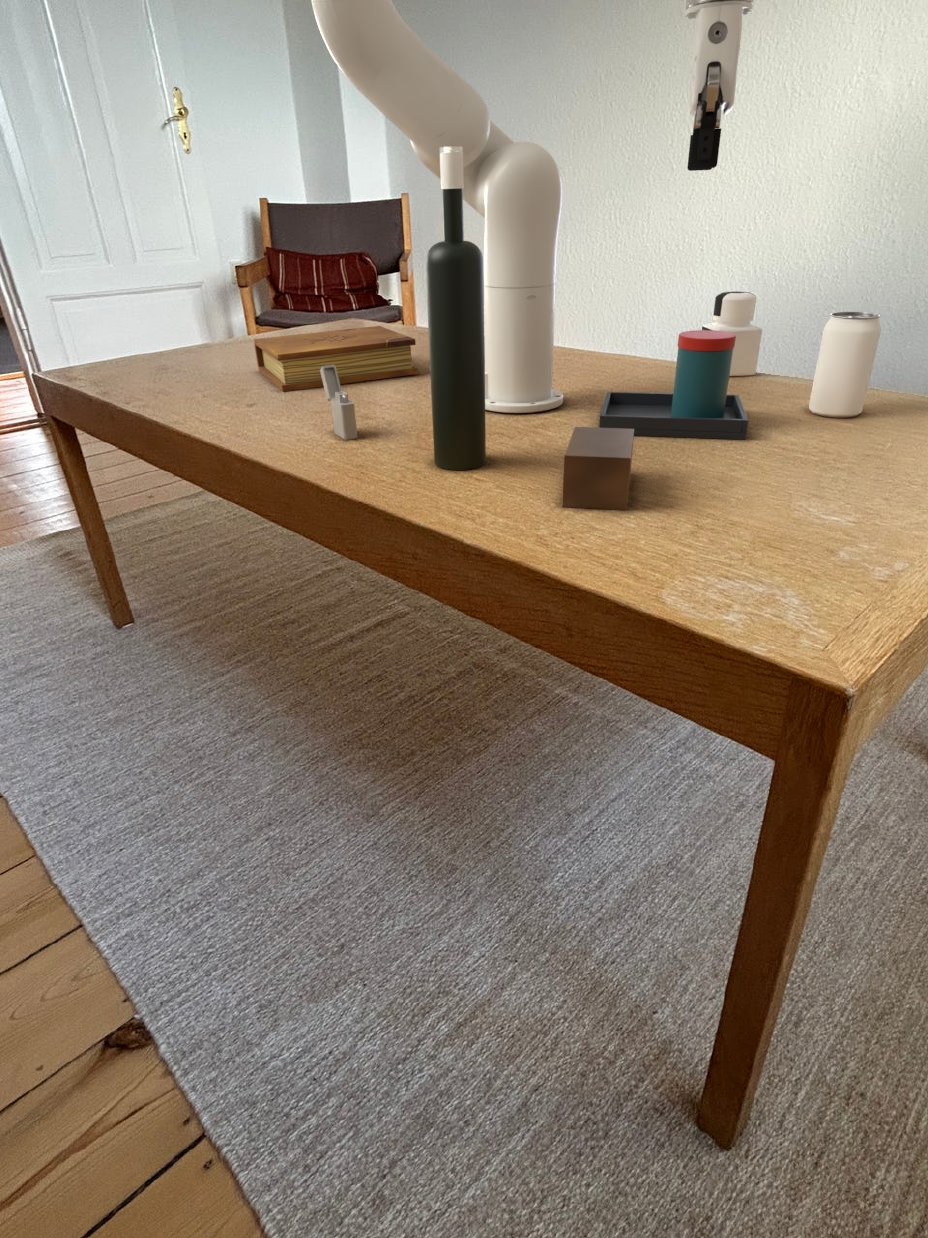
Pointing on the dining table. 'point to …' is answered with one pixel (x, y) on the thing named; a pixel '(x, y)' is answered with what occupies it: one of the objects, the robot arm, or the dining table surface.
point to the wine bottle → (456, 330)
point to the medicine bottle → (738, 329)
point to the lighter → (339, 404)
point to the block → (598, 468)
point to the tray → (669, 417)
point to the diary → (334, 356)
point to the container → (702, 373)
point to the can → (845, 364)
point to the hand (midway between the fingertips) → (701, 168)
